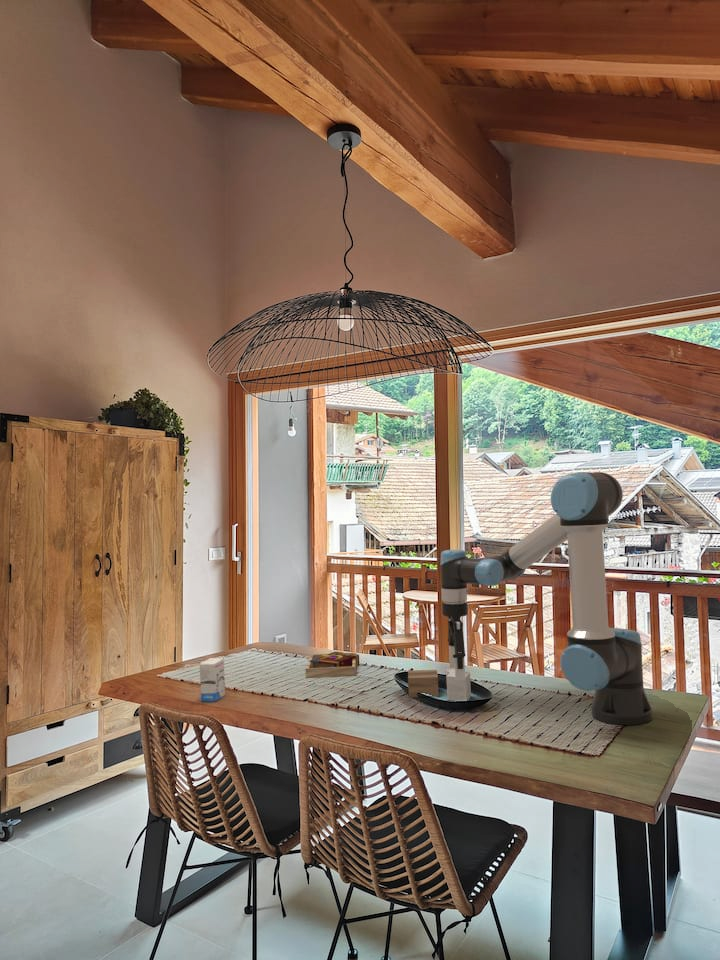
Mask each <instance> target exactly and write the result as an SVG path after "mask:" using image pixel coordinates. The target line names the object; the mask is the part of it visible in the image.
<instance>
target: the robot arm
mask: <svg viewBox="0 0 720 960" xmlns="http://www.w3.org/2000/svg"><path fill="white" fill-rule="evenodd" d="M623 493H624V492H623V488H622V486H621V484H620V483H619V481H618V480H617V478H615V477H614V476H613V475H611V474H609V473H606V472H598V471H596V472H587V471H586V472H584V471H583V472H582V471H581V472H580V471H577V472H573V473H568V474H565V475H563V476H562V477H560V478H559V479H558V480H557V481H556V482H555V483H554V486H553V487H552V489H551V493H550V503H551V504H550V505H551V507H552V510H553V512H554V513H555V514H554V515H553V516H551V517H550V518H549V519H548V520H546V521H544V522H543V523H542V524H541V525H539V526H538V527H536V528H535V529H534V530H533V531H531V532H530V533H528V534H527V535H525V537H523V538H522V539H520V540H519V541H518V542H516V543H515V544H514V545H513V546H511V547H510V548H508V549H507V550H506V551H504V552H503V553H501V554H499V555H493V556H487V557H467V555H466V553H467V552H466V551H465V550H462V549H446V550H443V551H441V554H440V563H439V564H440V577H441V578H440V579H441V580H440V581H441V588H440V589H441V591H440V593H441V601H442V604H441V607H442V608H441V609H442V612H441V613H442V615H443V616H445V617H448V621H447V625H448V632H447V634H448V635H447V642H448V645H449V646H448V652H449V653H448V658H449V668H450V669H455V680H465V671H466V669H465V668H466V667H465V664H466V663H465V658H466V650H465V639H464V638H465V637H464V623H463V621H462V620H461V618H462V617H465V616H468V613H469V612H468V610H469V608H468V603H467V600H468V595H467V594H469V593H470V591H469V590H468V589H467V587H468V586H467V585H468V584H470V585H479V586H485V587H488V586H493V587H494V586H497V585H499V584H500V583H501V582H503V581H507V580H508V581H509V580H510V581H511V580H515V579H517V578H520V577H522V576H523V575H524V574H525V572H526V569H528V568H529V567H531V566H532V565H533V564H535V563H536V562H538V561H539V560H540V559H542V558H543V557H545V556H546V555H548V554H549V553H550V552H552V551H553V550H555V549H556V548H558V547H559V546H561V545H562V544H563V543H565V542H566V541H567V551H568V552H567V553H568V568H569V570H568V571H569V585H570V603H571V619H572V622H571V623H572V627H571V628H570V629H569V630H568V631H567V633H566V639H567V640H566V641H567V647H565V649H564V650H563V651H562V653H561V655H560V661H559V663H560V665H559V666H560V669H561V671H562V674H563V676H564V677H565V679H566V680H567V681H569V683H570V685H572V686H573V687H575V688H577V689H579V690H580V691H581V690H582V691H585V692H592V691H593V692H594V694H593V699H592V702H591V704H590V705H591V706H590V709H591V710H590V711H591V714H590V715H591V716H592V718H594V719H596V720H598V721H601V722H604V723H608V724H612V725H621V726H622V725H623V726H633V725H642V724H643V725H644V724H647V723H649V722H651V721H652V720H653V710H652V707H651V704H650V701H649V698H648V696H647V693H646V691H645V688H644V673H643V654H642V653H643V652H642V651H643V649H642V648H643V647H642V646H643V644H642V641H641V634H640V633H639V632H638V631H637V630H634V629H627V628H618V627H610V626H609V617H608V616H609V615H608V600H607V585H606V581H607V580H606V569H605V568H606V566H605V549H604V534H603V532H604V531H605V529H606V528H607V527H608V526H609V516H611V515H613V514H614V513H615V512H616V511H617V510H618V509H619V507H620V506H621V504H622V501H623V497H624V496H623V495H624V494H623Z"/></svg>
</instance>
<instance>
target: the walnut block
mask: <svg viewBox="0 0 720 960" xmlns="http://www.w3.org/2000/svg"><path fill="white" fill-rule="evenodd" d="M407 673H408V674H407V687H408V698H419V697H418V696H417V693H425V694H429V695H432V696H436V697H437V698H438V697H439V695H440V694H439V675H438V670H437V669H420V670H419V669H418V670H417V669H416V670H414V669H413V670H412V669H411V670H408V671H407ZM436 697H435V698H436Z"/></svg>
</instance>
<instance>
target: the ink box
mask: <svg viewBox="0 0 720 960" xmlns="http://www.w3.org/2000/svg"><path fill="white" fill-rule="evenodd" d="M199 678H200V679H199V682H200V699H201V702H202V703H203V702H205V703H206V702H207V703H209V702H210V703H211V702H213V703H214V702H215V703H216V702H218V700H220V699H221V698H223V697H224V696H225V695H226V682H225V679H226V678H225V659H224V658H222V657H219V658H218V657H210V658H208V659H205V660H204V661H201V662H200V664H199Z"/></svg>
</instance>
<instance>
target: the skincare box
mask: <svg viewBox="0 0 720 960" xmlns="http://www.w3.org/2000/svg"><path fill="white" fill-rule="evenodd" d="M471 688H472V687H471V672H468V671H466V672H465V680H455V672H450V673H449V674H448V675H447V680H446V697H447V701H448V700H454V701H453V702H456V701H457V700H468V701H469V700H470V699H471V696H472V691H471V690H472V689H471ZM455 700H456V701H455Z"/></svg>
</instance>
